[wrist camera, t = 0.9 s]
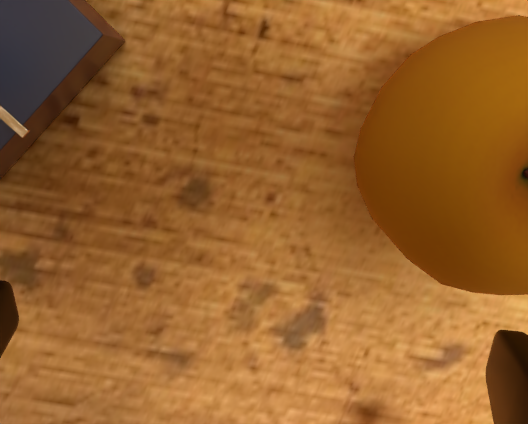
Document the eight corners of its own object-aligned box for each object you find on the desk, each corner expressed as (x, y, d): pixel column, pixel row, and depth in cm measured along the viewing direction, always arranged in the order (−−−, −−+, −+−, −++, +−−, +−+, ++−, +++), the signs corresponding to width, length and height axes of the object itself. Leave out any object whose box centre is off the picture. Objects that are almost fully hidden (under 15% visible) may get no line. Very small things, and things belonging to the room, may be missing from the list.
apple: (301, 195, 22) (330, 273, 13) (394, -10, 20) (502, -78, 11) (483, 270, 23) (621, 389, 14) (590, 83, 21) (829, 87, 12)
